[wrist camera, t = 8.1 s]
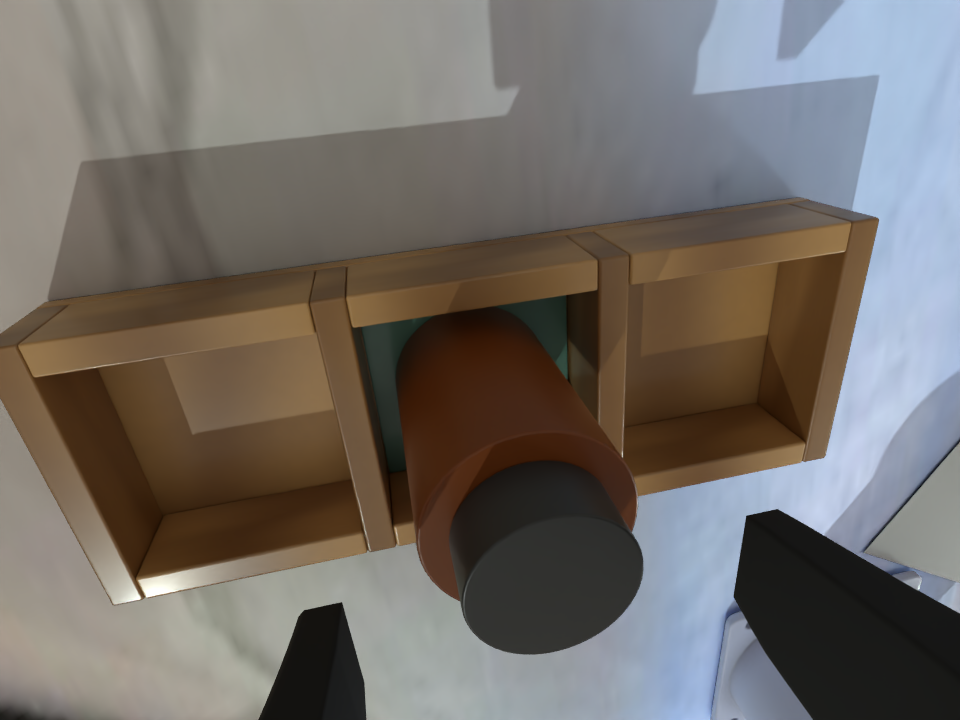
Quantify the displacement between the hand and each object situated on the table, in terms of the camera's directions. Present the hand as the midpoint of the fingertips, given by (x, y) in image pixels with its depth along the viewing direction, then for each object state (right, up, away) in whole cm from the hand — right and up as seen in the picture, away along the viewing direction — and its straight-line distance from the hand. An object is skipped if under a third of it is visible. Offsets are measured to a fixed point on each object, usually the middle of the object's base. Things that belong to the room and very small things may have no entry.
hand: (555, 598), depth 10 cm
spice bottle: (-2, +4, +7) cm, 8 cm away
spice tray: (-2, +4, +7) cm, 9 cm away
